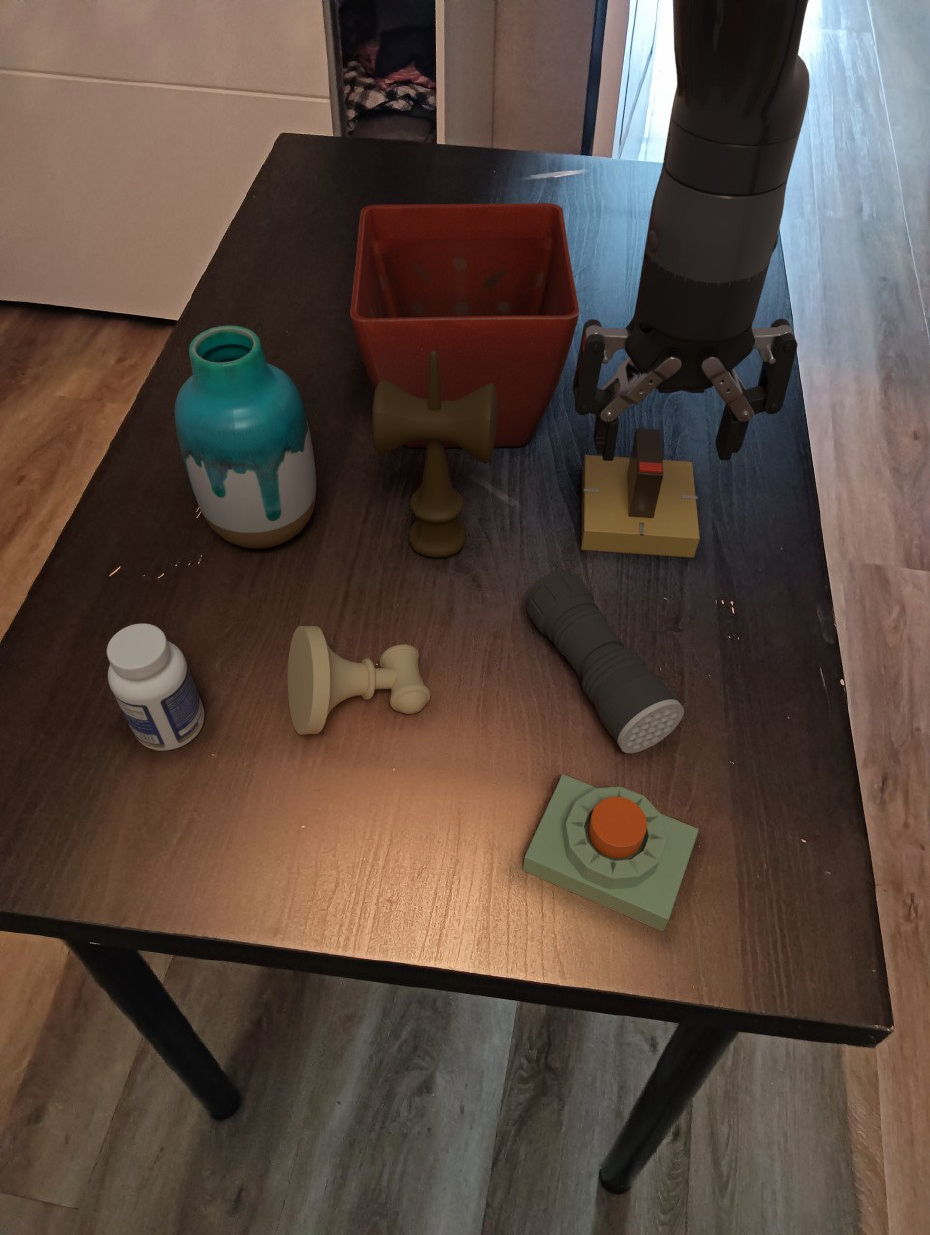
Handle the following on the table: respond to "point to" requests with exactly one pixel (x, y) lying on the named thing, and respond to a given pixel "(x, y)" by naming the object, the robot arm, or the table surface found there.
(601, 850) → the button
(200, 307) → the table surface
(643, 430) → the thumb turn
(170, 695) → the pill bottle
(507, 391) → the flower pot
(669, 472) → the plate
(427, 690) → the door knob
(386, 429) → the kendama
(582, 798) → the green button base
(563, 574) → the flashlight
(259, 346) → the vase
